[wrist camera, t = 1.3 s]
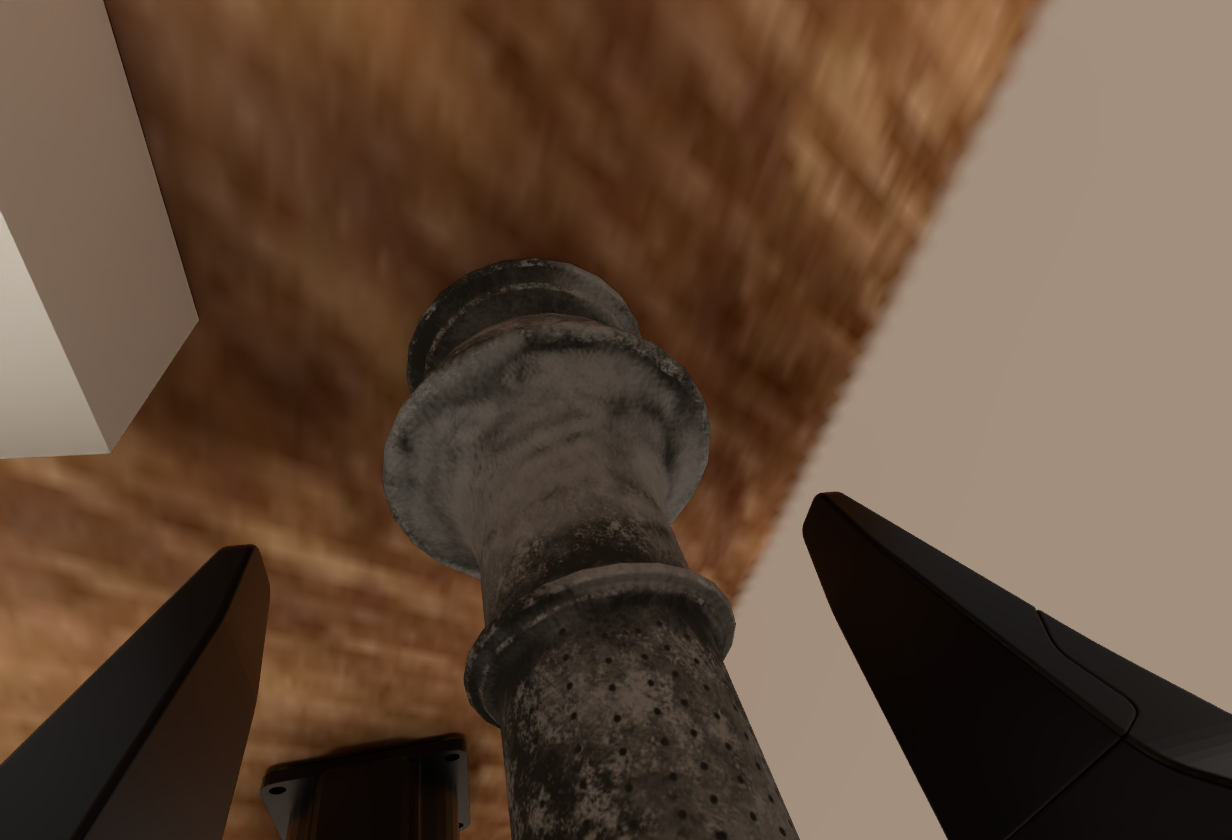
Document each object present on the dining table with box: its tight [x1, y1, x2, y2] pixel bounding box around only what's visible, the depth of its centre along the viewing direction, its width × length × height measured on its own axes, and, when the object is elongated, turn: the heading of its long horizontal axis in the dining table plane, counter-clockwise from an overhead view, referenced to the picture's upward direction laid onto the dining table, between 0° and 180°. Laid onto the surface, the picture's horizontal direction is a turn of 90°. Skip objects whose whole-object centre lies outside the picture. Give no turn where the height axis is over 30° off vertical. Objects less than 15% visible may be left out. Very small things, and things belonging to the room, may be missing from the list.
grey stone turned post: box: [382, 258, 800, 840], centre depth 9 cm, size 6×6×12 cm
